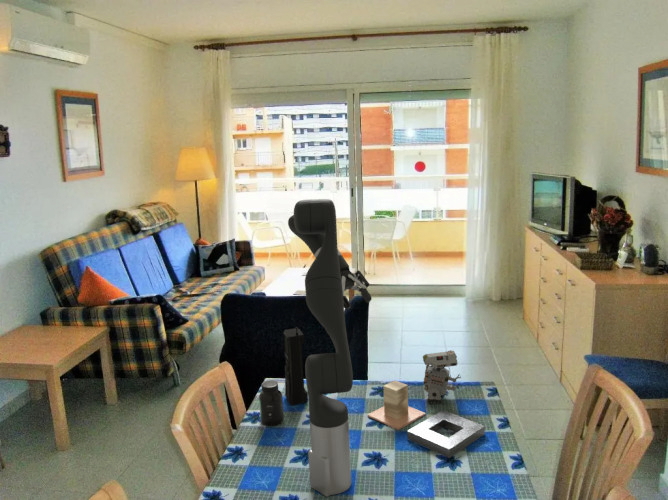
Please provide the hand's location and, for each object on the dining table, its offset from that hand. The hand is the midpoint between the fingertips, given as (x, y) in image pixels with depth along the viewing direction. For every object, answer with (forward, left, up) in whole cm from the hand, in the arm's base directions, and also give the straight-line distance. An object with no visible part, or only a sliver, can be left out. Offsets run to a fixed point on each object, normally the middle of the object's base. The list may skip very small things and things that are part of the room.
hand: (359, 304), depth 177 cm
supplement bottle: (-25, +13, -33) cm, 43 cm away
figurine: (+20, -15, -33) cm, 41 cm away
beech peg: (+2, -12, -32) cm, 34 cm away
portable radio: (-11, +19, -33) cm, 40 cm away
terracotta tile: (+2, -12, -33) cm, 35 cm away
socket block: (+2, -30, -33) cm, 44 cm away
